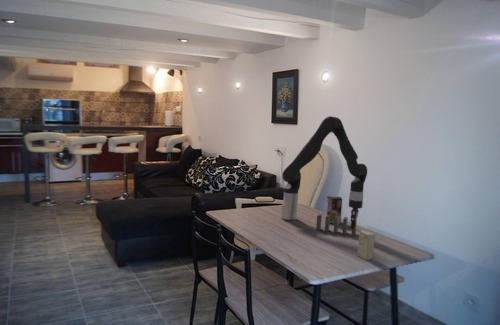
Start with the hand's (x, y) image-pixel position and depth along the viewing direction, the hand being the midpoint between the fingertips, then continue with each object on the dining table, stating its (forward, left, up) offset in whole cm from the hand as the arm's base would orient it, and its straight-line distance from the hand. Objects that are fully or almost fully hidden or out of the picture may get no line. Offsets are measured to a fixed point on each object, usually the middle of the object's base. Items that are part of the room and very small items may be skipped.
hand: (353, 226), depth 220 cm
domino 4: (-5, 0, -5) cm, 7 cm away
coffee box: (-15, +23, -5) cm, 28 cm away
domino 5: (0, 0, -5) cm, 5 cm away
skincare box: (+9, -37, -5) cm, 38 cm away
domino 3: (-10, 0, -5) cm, 11 cm away
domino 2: (-15, 0, -5) cm, 15 cm away
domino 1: (-20, 0, -5) cm, 20 cm away
